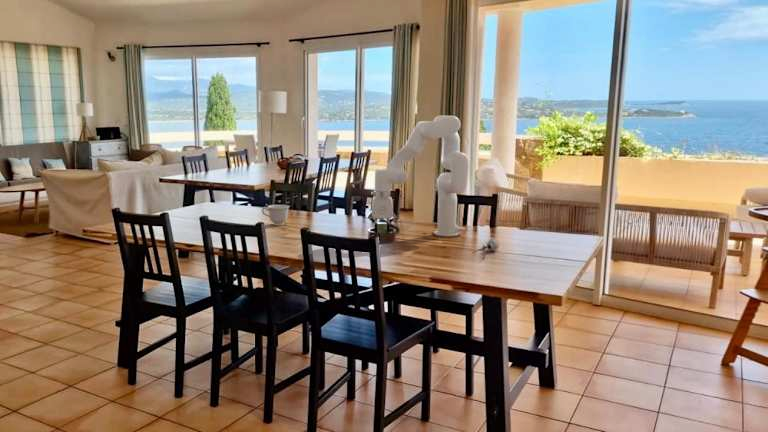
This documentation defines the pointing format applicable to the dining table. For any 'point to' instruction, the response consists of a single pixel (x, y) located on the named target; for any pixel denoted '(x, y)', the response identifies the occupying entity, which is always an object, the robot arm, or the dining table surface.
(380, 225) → the green cube
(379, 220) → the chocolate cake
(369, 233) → the bowl
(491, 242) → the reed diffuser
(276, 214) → the teacup
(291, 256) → the dining table surface
